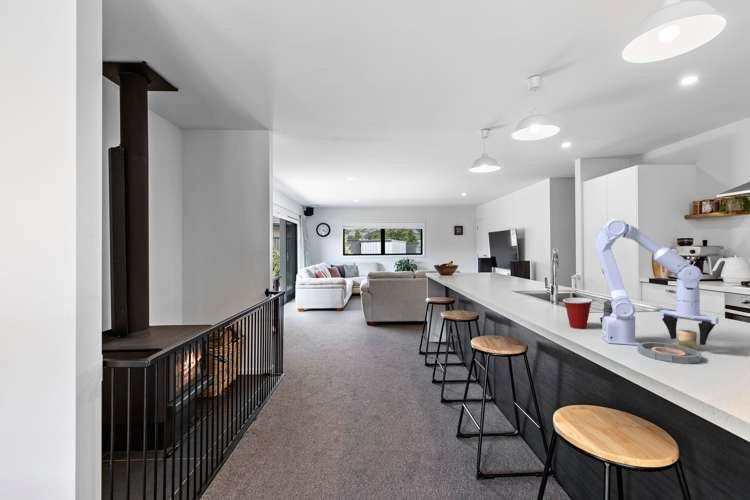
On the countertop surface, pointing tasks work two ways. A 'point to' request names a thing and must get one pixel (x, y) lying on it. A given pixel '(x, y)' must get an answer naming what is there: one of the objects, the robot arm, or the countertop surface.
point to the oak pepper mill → (687, 339)
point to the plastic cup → (578, 311)
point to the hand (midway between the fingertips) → (687, 341)
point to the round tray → (669, 352)
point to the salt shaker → (607, 309)
